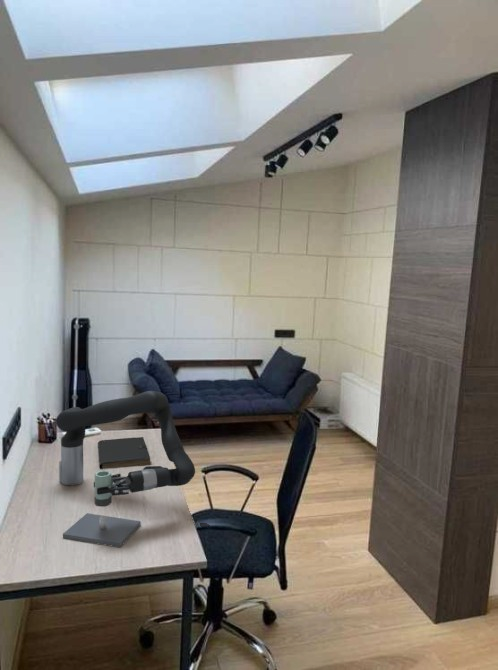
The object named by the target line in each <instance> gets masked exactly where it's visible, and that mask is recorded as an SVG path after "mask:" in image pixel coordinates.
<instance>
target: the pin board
mask: <svg viewBox="0 0 498 670" xmlns="http://www.w3.org/2000/svg"><path fill="white" fill-rule="evenodd" d="M140 526H141V520H134V519H128V518H123V517H122V518H121V517H116V516H108V515H103V514H102V515H101V514H95V513H89V512H87V513H85V514H84V515H83V516H82V517H81V518H79V520H77V521H76V522H75V523H74V524H72V525H71V526H70V527H69V528H68V529H67V530H65V532H63V533H62V539H66V538H70V539H69V540H72V539H75V540H74V541H80V542H85V543H92V544H97V543H99V544H98V545H103V544H106V545H105V546H109V545H112V546H111V547H115V546H120V547H119V548H122V547H123V545H124V544H125V543H126V542H127V541H126V540H127V539H128V540H129V539H130V537H131V536H132V535H133V534H134V533H135V532H136V531H137V530H136V529H139V528H140ZM125 541H126V542H125ZM123 543H124V544H123Z"/></svg>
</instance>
